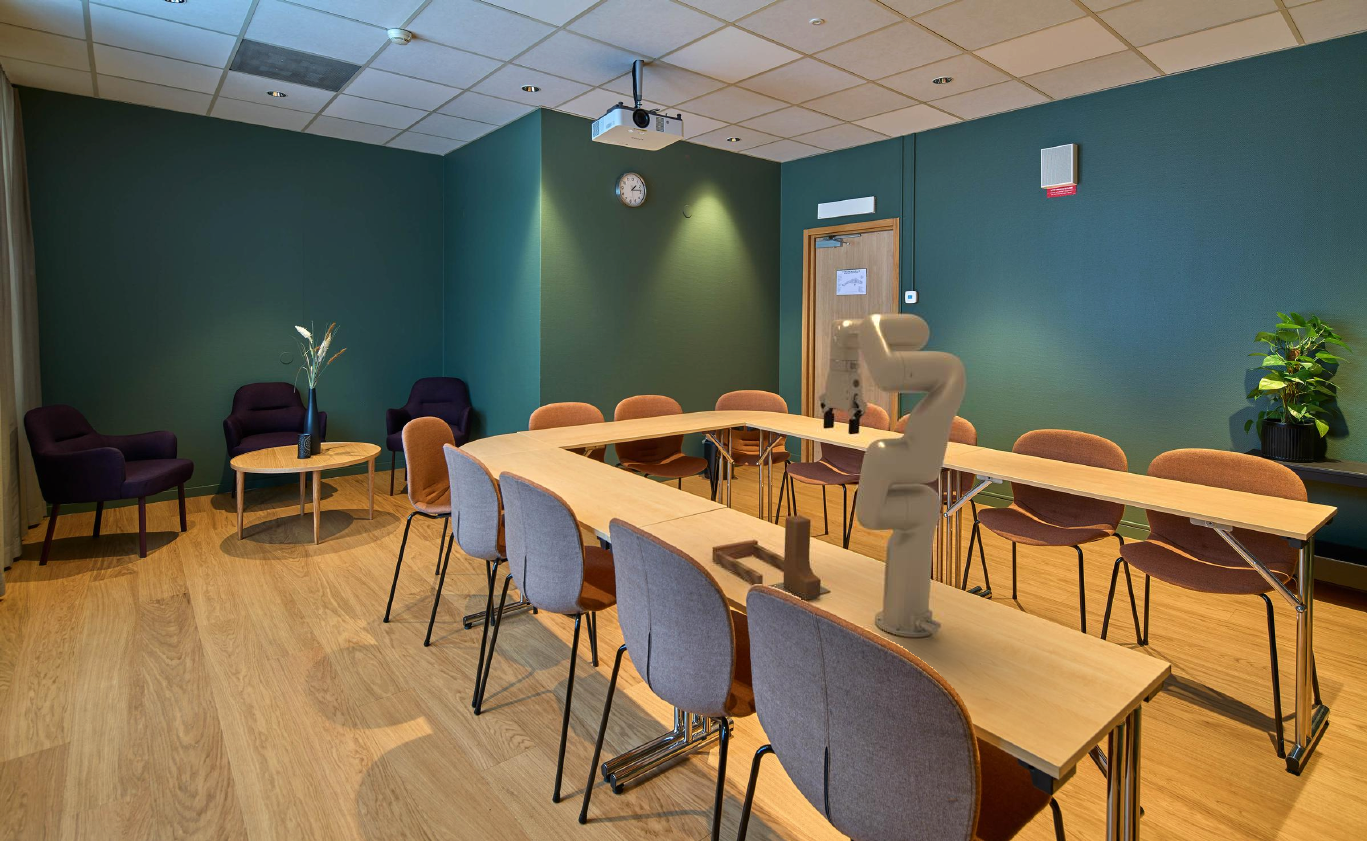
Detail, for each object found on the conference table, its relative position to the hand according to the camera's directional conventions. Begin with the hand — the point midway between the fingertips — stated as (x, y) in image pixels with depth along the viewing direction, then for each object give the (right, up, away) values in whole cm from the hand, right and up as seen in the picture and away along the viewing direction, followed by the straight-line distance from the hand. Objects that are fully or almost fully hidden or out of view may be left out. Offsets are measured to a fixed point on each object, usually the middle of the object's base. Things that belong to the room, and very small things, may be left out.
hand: (840, 430), depth 188 cm
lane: (-22, -37, -1) cm, 43 cm away
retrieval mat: (-14, -39, -14) cm, 44 cm away
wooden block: (-13, -39, -16) cm, 45 cm away
